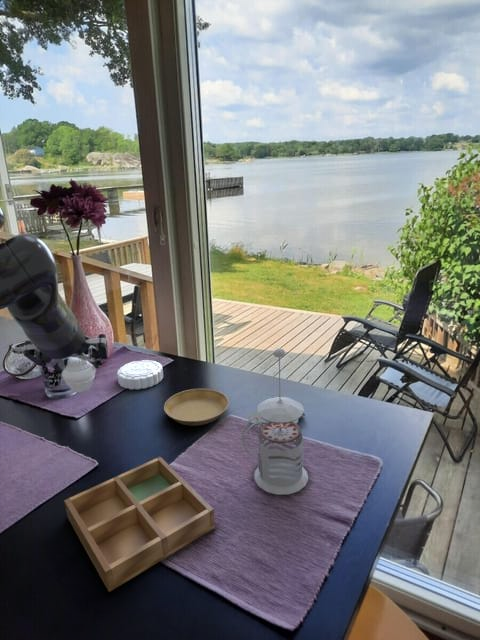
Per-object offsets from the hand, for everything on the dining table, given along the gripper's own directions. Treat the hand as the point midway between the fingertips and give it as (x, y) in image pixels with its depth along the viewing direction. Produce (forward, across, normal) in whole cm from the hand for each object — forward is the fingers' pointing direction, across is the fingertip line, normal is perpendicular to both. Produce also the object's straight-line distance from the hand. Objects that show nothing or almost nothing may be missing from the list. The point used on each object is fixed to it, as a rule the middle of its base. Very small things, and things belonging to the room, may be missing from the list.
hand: (79, 365), depth 85 cm
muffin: (+2, 0, +4) cm, 5 cm away
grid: (-3, -11, +30) cm, 32 cm away
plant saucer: (+19, -22, +7) cm, 30 cm away
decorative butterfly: (+15, -40, +11) cm, 44 cm away
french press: (+2, -35, +25) cm, 43 cm away
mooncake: (+34, -8, -8) cm, 35 cm away
